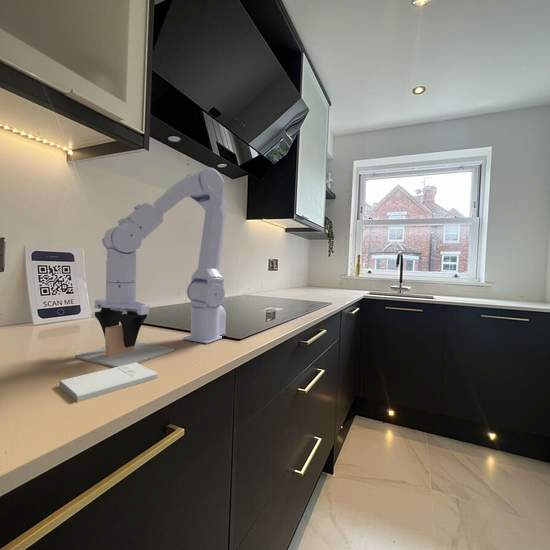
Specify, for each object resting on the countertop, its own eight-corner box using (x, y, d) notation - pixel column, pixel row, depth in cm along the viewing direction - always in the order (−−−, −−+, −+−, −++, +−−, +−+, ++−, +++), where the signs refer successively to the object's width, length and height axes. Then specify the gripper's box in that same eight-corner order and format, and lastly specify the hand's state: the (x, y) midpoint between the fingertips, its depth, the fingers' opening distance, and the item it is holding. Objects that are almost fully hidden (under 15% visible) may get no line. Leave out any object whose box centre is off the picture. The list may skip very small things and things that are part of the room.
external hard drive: (59, 389, 48) (135, 369, 58) (77, 406, 43) (157, 381, 53) (59, 379, 48) (135, 361, 58) (77, 395, 43) (157, 372, 53)
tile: (129, 348, 68) (129, 322, 68) (134, 349, 67) (134, 323, 67) (104, 355, 62) (104, 327, 62) (109, 356, 62) (110, 328, 61)
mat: (132, 342, 75) (132, 340, 75) (175, 350, 69) (175, 348, 69) (74, 357, 62) (74, 355, 62) (121, 369, 56) (121, 367, 56)
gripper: (81, 280, 64) (80, 343, 64) (128, 285, 57) (127, 354, 58) (111, 279, 70) (110, 336, 71) (157, 283, 64) (156, 345, 64)
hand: (120, 344), depth 65 cm, fingers open, 5 cm apart
